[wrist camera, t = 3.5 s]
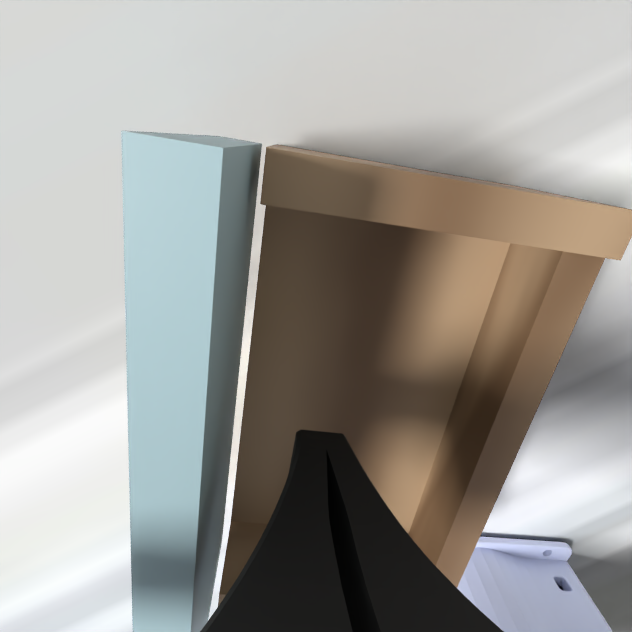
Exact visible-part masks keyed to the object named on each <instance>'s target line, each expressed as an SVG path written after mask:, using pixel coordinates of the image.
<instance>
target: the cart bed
mask: <svg viewBox="0 0 632 632" xmlns="http://www.w3.org/2000/svg"><path fill="white" fill-rule="evenodd" d="M260 204H263V205H266V209H265V218H264V227H263V236H262V245H261V254H260V263H259V272H258V282H257V291H256V300H255V309H254V318H253V327H252V336H251V345H250V354H249V363H248V372H247V381H246V390H245V399H244V408H243V417H242V426H241V435H240V444H239V454H238V463H237V472H236V481H235V490H234V499H233V508H232V517H231V525H230V531H229V537H228V543H227V550H226V556H225V562H224V568H223V575H222V581H221V587H220V593H219V602H218V606H219V605H220V603H221V602H222V600H223V599H224V597H225V596H226V594H227V593H228V591H229V590H230V588H231V587H232V585H233V584H234V582H235V581H236V579H237V578H238V576H239V574H240V573H241V571H242V570H243V568H244V566H245V565H246V563H247V561H248V559H249V558H250V556H251V554H252V552H253V551H254V549H255V547H256V545H257V544H258V542H259V540H260V538H261V536H262V534H263V532H264V530H265V528H266V526H267V524H268V522H269V520H270V518H271V516H272V514H273V512H274V510H275V507H276V505H277V503H278V500H279V498H280V495H281V493H282V491H283V488H284V486H285V483H286V480H287V477H288V474H289V469H290V463H291V458H292V452H293V447H294V441H295V436H296V432H297V431H299V430H312V431H322V432H332V433H343V434H344V436H345V437H346V439H347V441H348V442H349V444H350V446H351V448H352V450H353V452H354V453H355V455H356V457H357V459H358V460H359V462H360V464H361V466H362V467H363V469H364V471H365V472H366V474H367V476H368V477H369V479H370V480H371V482H372V484H373V485H374V487H375V488H376V490H377V491H378V493H379V494H380V496H381V497H382V499H383V500H384V502H385V503H386V505H387V506H388V508H389V509H390V510H391V512H392V513H393V515H394V516H395V517H396V519H397V520H398V521H399V523H400V524H401V525H402V527H403V528H404V529H405V531H406V532H407V533H408V534H409V536H410V537H411V538H412V539H413V541H414V542H415V543H416V544H417V545H418V547H419V548H420V549H421V550H422V551H423V553H424V554H425V555H426V556H427V557H428V558H429V559H430V561H431V562H432V563H433V564H434V565H435V566H436V567H437V568H438V569H439V570H440V571H441V572H442V573H443V574H444V575H445V576H446V577H447V578H448V579H449V580H450V581H451V583H452V584H453V585H454V586H455V587H456V588H457V587H458V584H459V582H460V580H461V578H462V576H463V573H464V571H465V569H466V567H467V564H468V562H469V560H470V558H471V556H472V553H473V551H474V549H475V547H476V544H477V542H478V540H479V538H480V535H481V533H482V531H483V529H484V527H485V524H486V522H487V520H488V518H489V515H490V513H491V511H492V509H493V507H494V504H495V502H496V500H497V498H498V495H499V493H500V491H501V489H502V486H503V484H504V482H505V480H506V478H507V475H508V473H509V471H510V469H511V466H512V464H513V462H514V460H515V458H516V455H517V453H518V451H519V449H520V446H521V444H522V442H523V440H524V437H525V435H526V433H527V431H528V429H529V426H530V424H531V422H532V420H533V417H534V415H535V413H536V411H537V409H538V406H539V404H540V402H541V400H542V397H543V395H544V393H545V391H546V388H547V386H548V384H549V382H550V380H551V377H552V375H553V373H554V371H555V368H556V366H557V364H558V362H559V360H560V357H561V355H562V353H563V351H564V348H565V346H566V344H567V342H568V339H569V337H570V335H571V333H572V331H573V328H574V326H575V324H576V322H577V319H578V317H579V315H580V313H581V311H582V308H583V306H584V304H585V302H586V299H587V297H588V295H589V293H590V290H591V288H592V286H593V284H594V282H595V279H596V277H597V275H598V273H599V270H600V268H601V266H602V264H603V262H604V259H605V258H609V259H615V260H621V258H622V256H623V254H624V252H625V250H626V248H627V245H628V243H629V241H630V239H631V237H632V210H631V209H626V208H621V207H616V206H611V205H606V204H601V203H597V202H592V201H587V200H582V199H577V198H572V197H567V196H562V195H557V194H552V193H548V192H543V191H538V190H533V189H528V188H523V187H518V186H513V185H507V184H501V183H495V182H490V181H484V180H478V179H472V178H467V177H461V176H455V175H449V174H444V173H438V172H432V171H426V170H420V169H415V168H409V167H403V166H397V165H392V164H386V163H380V162H374V161H369V160H363V159H357V158H351V157H345V156H340V155H334V154H328V153H322V152H317V151H311V150H305V149H299V148H294V147H288V146H282V145H273V146H269V147H266V155H265V165H264V175H263V184H262V194H261V203H260Z"/></svg>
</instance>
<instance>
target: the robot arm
mask: <svg viewBox="0 0 632 632" xmlns="http://www.w3.org/2000/svg"><path fill="white" fill-rule="evenodd" d="M571 554H572V549H571V548H570V546H569V545H568V544H567V543H564V542H553V541H538V540H524V539H509V538H494V537H480V538H479V540H478V542H477V544H476V547H475V549H474V551H473V553H472V556H471V558H470V560H469V562H468V564H467V567H466V569H465V571H464V573H463V576H462V578H461V580H460V582H459V584H458V587H457V588H456V587H455V586H454V585H453V584H452V583H451V581H450V580H449V579H448V578H447V577H446V576H445V575H444V574H443V573H442V572H441V571H440V570H439V569H438V568H437V567H436V566H435V565H434V564H433V563H432V562H431V561H430V559H429V558H428V557H427V556H426V555H425V554H424V553H423V551H422V550H421V549H420V548H419V547H418V545H417V544H416V543H415V542H414V541H413V539H412V538H411V537H410V536H409V534H408V533H407V532H406V531H405V529H404V528H403V527H402V525H401V524H400V523H399V521H398V520H397V519H396V517H395V516H394V515H393V513H392V512H391V510H390V509H389V508H388V506H387V505H386V503H385V502H384V500H383V499H382V497H381V496H380V494H379V493H378V491H377V490H376V488H375V487H374V485H373V484H372V482H371V480H370V479H369V477H368V476H367V474H366V472H365V471H364V469H363V467H362V466H361V464H360V462H359V460H358V459H357V457H356V455H355V453H354V452H353V450H352V448H351V446H350V444H349V442H348V441H347V439H346V437H345V436H344V434H343V433H332V432H322V431H312V430H299V431H297V432H296V436H295V441H294V447H293V452H292V458H291V463H290V469H289V474H288V477H287V480H286V483H285V486H284V488H283V491H282V493H281V495H280V498H279V500H278V503H277V505H276V507H275V510H274V512H273V514H272V516H271V518H270V520H269V522H268V524H267V526H266V528H265V530H264V532H263V534H262V536H261V538H260V540H259V542H258V544H257V545H256V547H255V549H254V551H253V552H252V554H251V556H250V558H249V559H248V561H247V563H246V565H245V566H244V568H243V570H242V571H241V573H240V574H239V576H238V578H237V579H236V581H235V582H234V584H233V585H232V587H231V588H230V590H229V591H228V593H227V594H226V596H225V597H224V599H223V600H222V602H221V603H220V605H219V606H218V608H217V609H216V611H215V612H214V614H213V615H212V616H211V618H210V619H209V621H208V622H207V623H206V624H205V626H204V627H203V628H202V630H201V631H200V632H613V631H612V629H611V628H610V626H609V625H608V623H607V622H606V620H605V619H604V617H603V616H602V614H601V612H600V611H599V609H598V608H597V606H596V605H595V603H594V602H593V600H592V599H591V597H590V596H589V594H588V593H587V591H586V590H585V588H584V586H583V585H582V583H581V582H580V580H579V579H578V577H577V576H576V574H575V573H574V571H573V570H572V568H571V567H570V565H569V563H568V562H567V561H568V559H569V557H570V556H571Z"/></svg>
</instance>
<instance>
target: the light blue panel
mask: <svg viewBox="0 0 632 632" xmlns="http://www.w3.org/2000/svg"><path fill="white" fill-rule="evenodd" d="M121 132H122V176H123V220H124V264H125V308H126V352H127V396H128V440H129V484H130V528H131V572H132V616H133V632H200V631H201V630H202V628H203V627H204V626H205V624H206V623H207V622H208V617H209V611H210V605H211V600H212V594H213V588H214V582H215V577H216V571H217V565H218V560H219V554H220V548H221V542H222V534H223V524H224V514H225V504H226V494H227V484H228V474H229V464H230V455H231V445H232V435H233V425H234V415H235V405H236V395H237V385H238V375H239V365H240V355H241V346H242V336H243V326H244V316H245V306H246V296H247V286H248V276H249V266H250V256H251V246H252V237H253V227H254V217H255V207H256V197H257V187H258V177H259V167H260V157H261V147H262V144H261V143H255V142H249V141H244V140H238V139H232V138H226V137H220V136H207V135H189V134H172V133H154V132H136V131H121Z"/></svg>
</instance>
